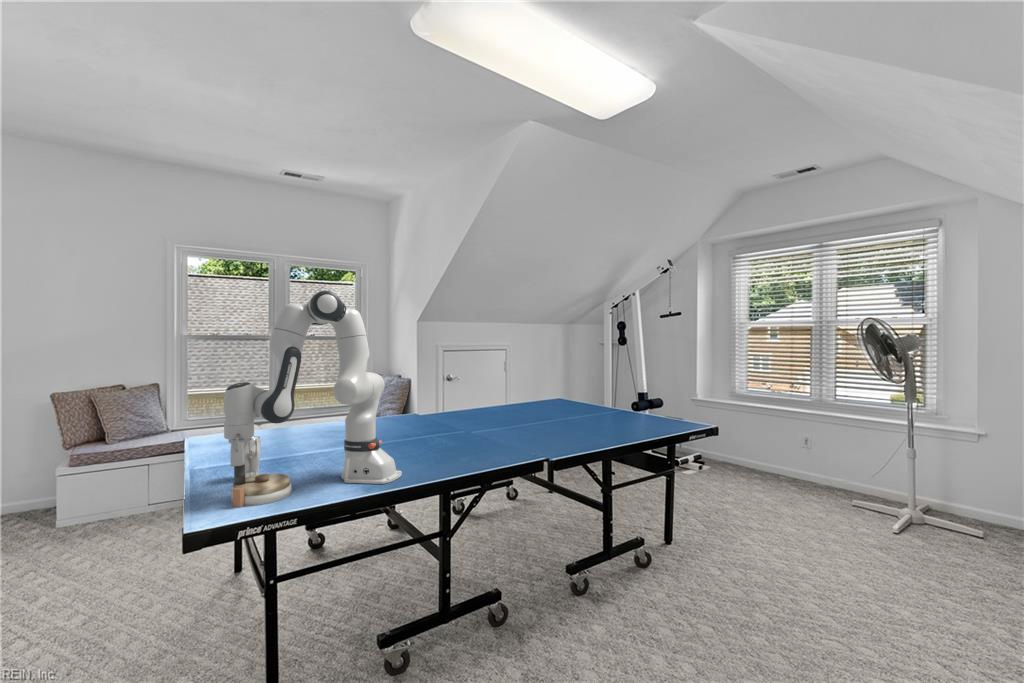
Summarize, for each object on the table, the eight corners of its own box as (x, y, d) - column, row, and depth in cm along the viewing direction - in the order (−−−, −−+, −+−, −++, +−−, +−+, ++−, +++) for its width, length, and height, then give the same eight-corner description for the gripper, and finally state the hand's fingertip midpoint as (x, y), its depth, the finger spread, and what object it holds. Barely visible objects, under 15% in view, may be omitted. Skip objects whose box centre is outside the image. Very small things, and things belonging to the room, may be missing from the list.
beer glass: (235, 479, 185) (235, 439, 184) (251, 474, 191) (251, 435, 191) (249, 481, 182) (249, 440, 182) (265, 476, 189) (264, 436, 188)
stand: (303, 489, 173) (302, 474, 173) (260, 509, 154) (259, 492, 154) (260, 485, 178) (260, 469, 178) (213, 503, 159) (213, 486, 159)
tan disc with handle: (289, 476, 178) (288, 454, 178) (290, 490, 163) (290, 466, 163) (234, 483, 171) (234, 459, 171) (231, 498, 156) (230, 473, 155)
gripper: (247, 437, 158) (248, 480, 159) (251, 425, 177) (252, 463, 177) (225, 439, 156) (225, 482, 156) (231, 426, 174) (231, 465, 175)
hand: (239, 472), depth 167 cm, fingers closed
